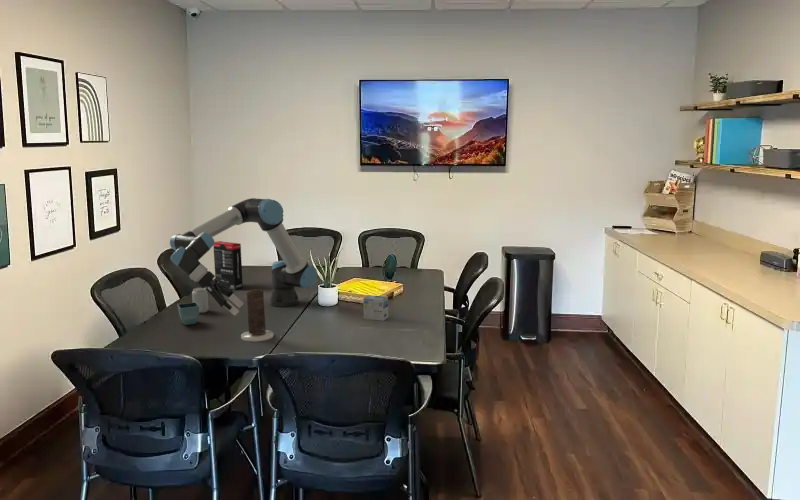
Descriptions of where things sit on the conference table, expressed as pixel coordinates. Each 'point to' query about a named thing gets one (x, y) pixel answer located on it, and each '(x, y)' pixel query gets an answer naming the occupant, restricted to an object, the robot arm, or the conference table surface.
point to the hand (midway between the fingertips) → (239, 309)
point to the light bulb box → (375, 307)
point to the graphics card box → (228, 264)
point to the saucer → (257, 336)
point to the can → (201, 299)
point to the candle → (256, 312)
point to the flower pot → (188, 312)
